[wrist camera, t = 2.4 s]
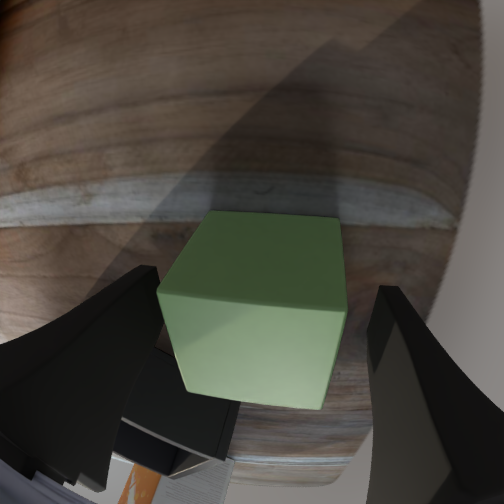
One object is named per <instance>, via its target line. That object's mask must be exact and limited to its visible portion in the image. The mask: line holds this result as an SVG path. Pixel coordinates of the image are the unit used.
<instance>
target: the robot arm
mask: <svg viewBox="0 0 504 504" xmlns="http://www.w3.org/2000/svg"><path fill="white" fill-rule="evenodd" d="M159 285H160V280H159V276H158V272H157V268H156V266H147V265H140V266H138V267H136V268H134V269H133V270H131V271H129V272H128V273H126V274H125V275H123V276H122V277H120V278H119V279H117V280H116V281H114V282H113V283H111V284H110V285H109V286H107V287H106V288H104V289H103V290H101V291H100V292H98V293H97V294H95V295H94V296H92V297H91V298H89V299H88V300H86V301H85V302H83V303H81V304H80V305H78V306H77V307H75V308H74V309H72V310H71V311H69V312H67V313H66V314H64V315H62V316H61V317H59V318H57V319H55V320H54V321H52V322H50V323H48V324H46V325H44V326H42V327H40V328H38V329H36V330H34V331H32V332H29V333H27V334H25V335H23V336H21V337H18V338H16V339H14V340H11V341H8V342H6V343H3V344H0V504H96V503H94V502H92V501H89V500H88V499H86V498H84V497H82V496H80V495H78V494H76V493H74V492H73V491H71V490H69V489H67V488H65V487H64V486H63V483H64V482H67V483H69V484H71V485H73V486H74V485H75V484H76V483H78V484H80V485H82V486H84V487H86V488H88V489H90V490H92V491H94V492H102V491H104V490H105V489H106V484H107V477H108V470H109V465H110V460H111V455H112V451H113V447H114V443H115V439H116V435H117V432H118V428H119V425H120V422H121V418H122V415H123V412H124V409H125V407H126V404H127V401H128V398H129V395H130V393H131V391H132V389H133V386H134V384H135V382H136V380H137V378H138V376H139V374H140V372H141V370H142V369H143V367H144V365H145V363H146V361H147V359H148V357H149V355H150V353H151V351H152V349H153V347H154V345H155V343H156V341H157V339H158V337H159V335H160V332H161V329H162V327H163V324H164V318H163V314H162V311H161V307H160V304H159V300H158V296H157V288H158V286H159ZM367 364H368V373H369V382H370V392H371V402H372V413H373V448H372V462H371V471H370V481H369V488H368V494H367V501H366V504H504V412H503V411H502V410H501V409H500V408H498V407H497V406H496V405H495V404H494V403H493V402H492V401H491V400H490V399H489V398H488V397H487V396H486V395H485V394H484V393H483V392H482V391H480V389H479V388H478V387H477V386H476V385H475V384H474V383H473V382H472V381H471V380H470V379H469V378H468V377H467V376H466V374H465V373H464V372H463V371H462V370H461V369H460V368H459V367H458V366H457V364H456V363H455V362H454V361H453V360H452V358H451V357H450V356H449V355H448V353H447V352H446V351H445V350H444V348H443V347H442V346H441V345H440V343H439V342H438V341H437V339H436V338H435V337H434V336H433V334H432V333H431V331H430V330H429V329H428V327H427V326H426V325H425V323H424V322H423V320H422V319H421V318H420V316H419V315H418V313H417V312H416V310H415V309H414V308H413V306H412V305H411V303H410V302H409V301H408V299H407V298H406V296H405V295H404V294H403V292H402V291H401V289H400V288H399V287H398V286H385V285H380V286H379V290H378V294H377V298H376V301H375V305H374V309H373V312H372V316H371V319H370V323H369V326H368V329H367Z"/></svg>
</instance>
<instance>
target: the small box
mask: <svg viewBox="0 0 504 504" xmlns="http://www.w3.org/2000/svg"><path fill="white" fill-rule="evenodd" d="M234 464H235V461H234V460H232V459H229V458H227V457H226V460H225V462H223V463H220V464H218V465H215V466H212V467H210V468H207V469H204V470H202V471H199V472H196V473H193V474H190V475H187V476H184V477H181V478H178V479H175V480H173V479H170V478H168V477H165V476H163V475H160V474H158V473H155V472H153V471H151V470H149V469H146V468H144V467H142V466H140V465H137V464H134V466H133V468H132V471H131V473H130V476H129V478H128V480H127V483H126V485H125V488H124V490H123V492H122V495H121V497H120V500H119V503H118V504H223V503H224V500H225V496H226V493H227V489H228V486H229V482H230V478H231V475H232V471H233V467H234Z"/></svg>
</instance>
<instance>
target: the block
mask: <svg viewBox="0 0 504 504" xmlns="http://www.w3.org/2000/svg"><path fill="white" fill-rule="evenodd" d="M157 296H158V300H159V304H160V307H161V311H162V314H163V318H164V321H165V325H166V328H167V331H168V335H169V338H170V341H171V344H172V348H173V351H174V354H175V357H176V360H177V363H178V366H179V369H180V372H181V375H182V378H183V381H184V384H185V387H186V389H187V391H188V392H192V393H197V394H202V395H207V396H213V397H218V398H224V399H230V400H236V401H243V402H250V403H257V404H265V405H273V406H282V407H292V408H303V409H316V410H320V409H322V408H323V405H324V402H325V398H326V395H327V391H328V388H329V384H330V381H331V377H332V373H333V370H334V366H335V362H336V358H337V355H338V351H339V347H340V343H341V338H342V334H343V330H344V326H345V321H346V317H347V312H348V302H347V288H346V276H345V265H344V255H343V245H342V236H341V227H340V220H339V219H338V218H330V217H317V216H302V215H287V214H271V213H253V212H233V211H209V212H208V213H207V215H206V216H205V218H204V219H203V221H202V222H201V224H200V225H199V226H198V228H197V229H196V231H195V232H194V234H193V235H192V237H191V238H190V240H189V241H188V242H187V244H186V245H185V247H184V248H183V250H182V251H181V253H180V254H179V256H178V257H177V259H176V260H175V262H174V263H173V265H172V266H171V268H170V269H169V271H168V273H167V274H166V276H165V277H164V279H163V280H162V282H161V283H160V285H159V286H158V288H157Z"/></svg>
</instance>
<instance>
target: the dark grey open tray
mask: <svg viewBox="0 0 504 504" xmlns="http://www.w3.org/2000/svg"><path fill="white" fill-rule="evenodd" d="M240 403H241V401H236V400H230V399H224V398H218V397H213V396H207V395H202V394H197V393H192V392H188V391H187V389H186V387H185V384H184V381H183V378H182V375H181V372H180V369H179V366H178V363H177V360H176V359H175V358H173V357H171V356H170V355H168V354H166V353H164V352H162V351H160V350H158V349H157V348H155V347H153V349H152V351H151V353H150V355H149V357H148V359H147V361H146V363H145V365H144V367H143V369H142V370H141V372H140V374H139V376H138V378H137V380H136V382H135V384H134V386H133V389H132V391H131V393H130V395H129V398H128V401H127V404H126V407H125V409H124V412H123V415H122V418H121V422H120V425H119V428H118V432H117V435H116V439H115V443H114V447H113V451H112V452H113V453H115V454H117V455H119V456H121V457H123V458H125V459H127V460H129V461H131V462H133V463H135V464H137V465H140V466H142V467H144V468H146V469H149V470H151V471H153V472H155V473H158V474H160V475H163V476H165V477H168V478H170V479H173V480H175V479H178V478H181V477H184V476H187V475H190V474H193V473H196V472H199V471H202V470H204V469H207V468H210V467H212V466H215V465H218V464H220V463H223V462H225V460H226V456H227V453H228V449H229V445H230V441H231V438H232V434H233V430H234V426H235V422H236V419H237V415H238V411H239V407H240Z"/></svg>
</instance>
